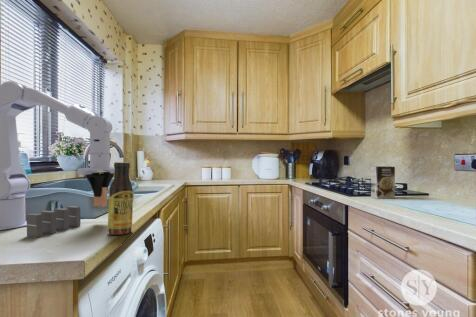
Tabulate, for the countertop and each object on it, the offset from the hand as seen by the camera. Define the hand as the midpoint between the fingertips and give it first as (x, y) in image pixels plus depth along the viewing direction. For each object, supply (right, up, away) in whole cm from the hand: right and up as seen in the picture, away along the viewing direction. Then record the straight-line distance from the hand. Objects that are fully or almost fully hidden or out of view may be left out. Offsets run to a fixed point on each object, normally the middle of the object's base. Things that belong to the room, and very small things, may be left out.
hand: (100, 196), depth 84 cm
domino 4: (-7, -9, -3) cm, 12 cm away
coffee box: (+119, -8, +49) cm, 129 cm away
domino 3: (-8, -9, -7) cm, 14 cm away
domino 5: (0, -3, 0) cm, 3 cm away
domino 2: (-9, -9, -10) cm, 16 cm away
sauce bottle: (+12, -9, -11) cm, 18 cm away
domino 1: (-10, -9, -14) cm, 19 cm away
